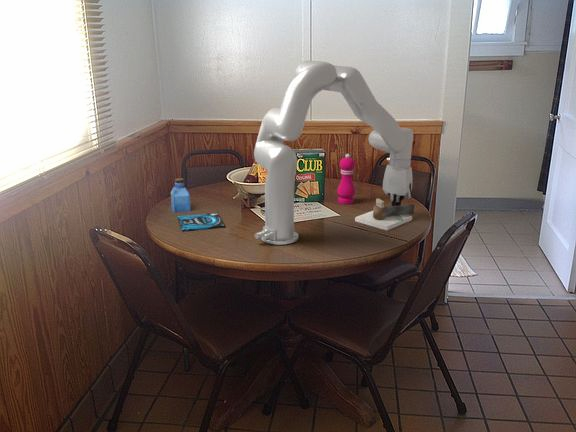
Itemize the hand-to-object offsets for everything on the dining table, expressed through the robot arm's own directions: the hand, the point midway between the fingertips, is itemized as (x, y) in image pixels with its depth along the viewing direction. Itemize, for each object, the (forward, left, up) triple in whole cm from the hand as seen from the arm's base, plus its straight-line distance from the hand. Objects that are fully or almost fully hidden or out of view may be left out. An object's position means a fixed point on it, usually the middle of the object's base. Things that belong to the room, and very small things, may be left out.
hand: (395, 211), depth 199 cm
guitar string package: (-55, +46, -4) cm, 72 cm away
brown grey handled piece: (-3, -1, -1) cm, 4 cm away
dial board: (-6, +1, -3) cm, 6 cm away
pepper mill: (+2, +25, -3) cm, 26 cm away
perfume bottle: (-51, +64, -3) cm, 82 cm away
